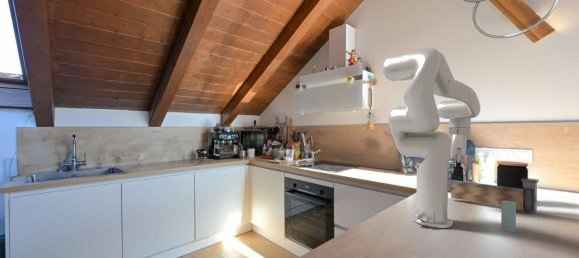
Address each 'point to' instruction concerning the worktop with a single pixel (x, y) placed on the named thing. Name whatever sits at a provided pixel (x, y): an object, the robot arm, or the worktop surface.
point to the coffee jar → (511, 174)
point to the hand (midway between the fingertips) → (458, 176)
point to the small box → (452, 177)
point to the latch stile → (508, 216)
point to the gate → (490, 194)
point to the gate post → (531, 185)
